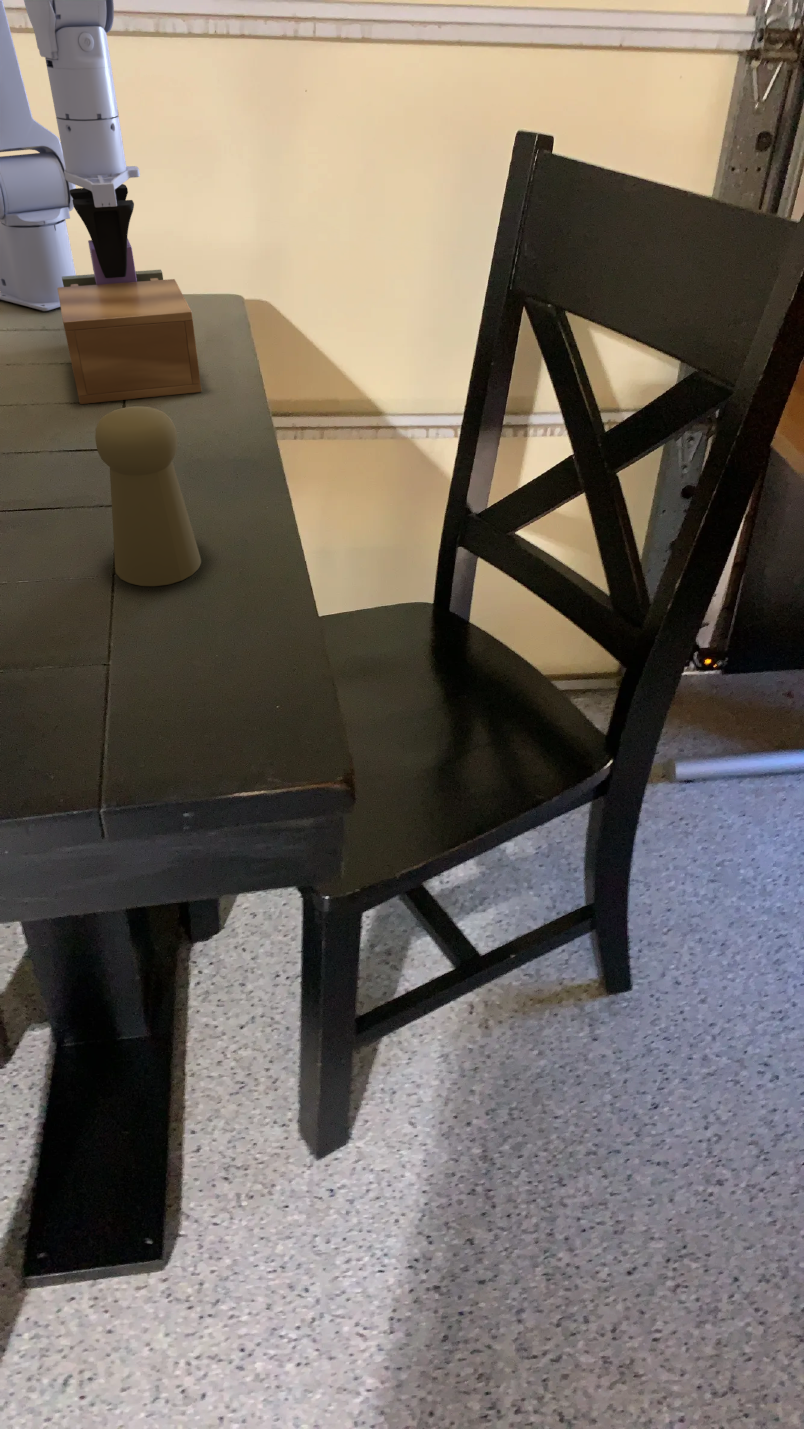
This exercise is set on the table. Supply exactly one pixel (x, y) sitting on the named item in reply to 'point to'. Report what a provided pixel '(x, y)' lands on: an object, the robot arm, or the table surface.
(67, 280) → the drawer
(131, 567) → the tan pawn
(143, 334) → the cabinet
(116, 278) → the block
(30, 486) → the table surface
